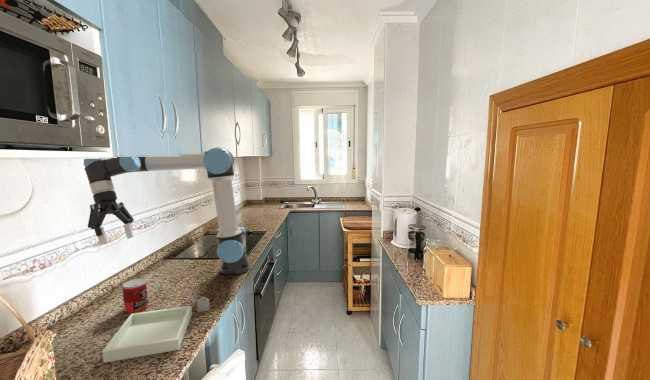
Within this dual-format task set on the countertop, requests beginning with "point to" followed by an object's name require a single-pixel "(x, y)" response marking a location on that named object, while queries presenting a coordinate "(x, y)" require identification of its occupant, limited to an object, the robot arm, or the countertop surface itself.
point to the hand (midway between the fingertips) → (118, 240)
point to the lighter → (200, 302)
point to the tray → (149, 334)
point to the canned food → (135, 296)
